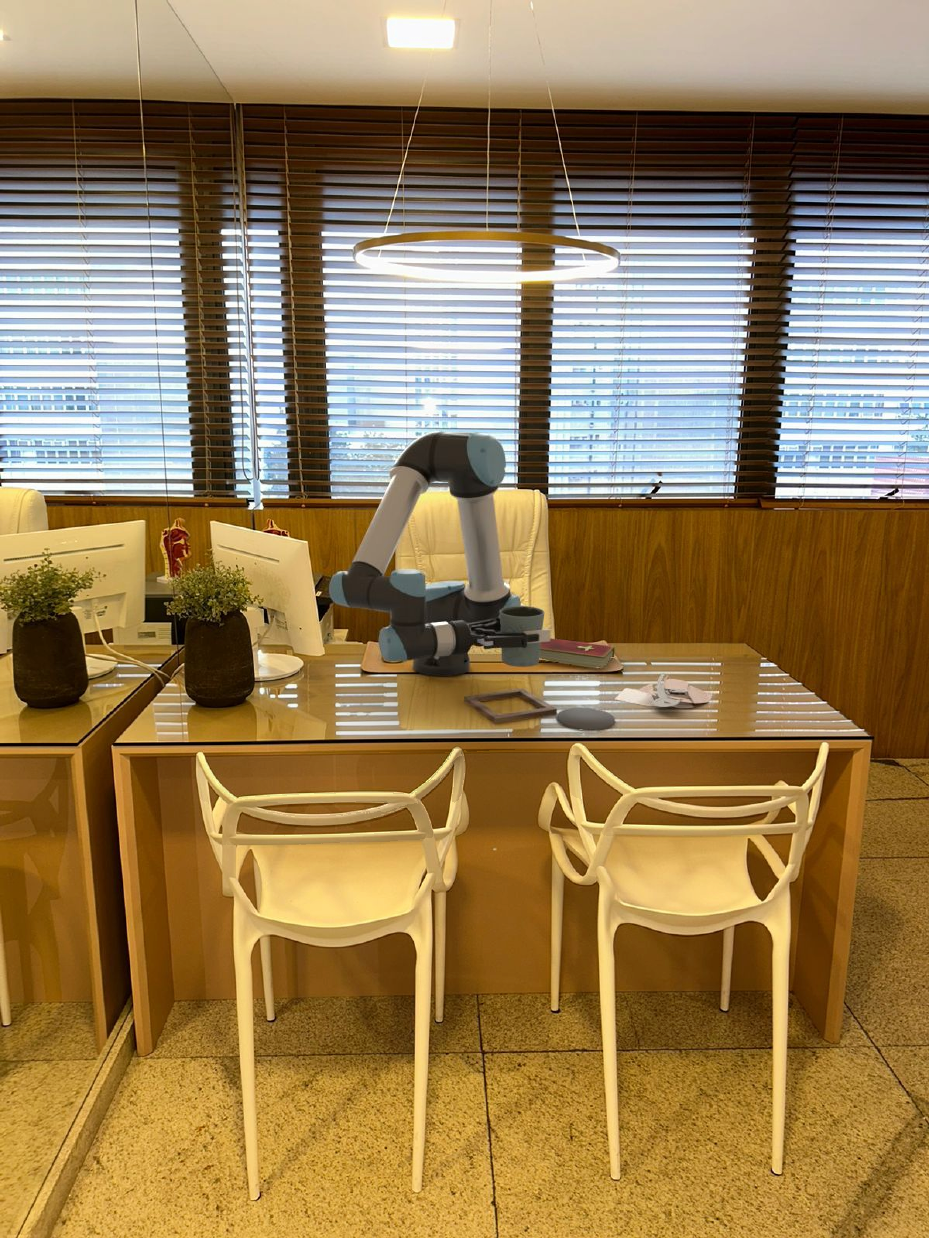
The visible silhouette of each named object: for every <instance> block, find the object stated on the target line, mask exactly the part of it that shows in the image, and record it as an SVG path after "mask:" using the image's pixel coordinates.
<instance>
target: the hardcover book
mask: <svg viewBox="0 0 929 1238" xmlns="http://www.w3.org/2000/svg"><path fill="white" fill-rule="evenodd" d="M615 649H616V648H615V646H612V645H606V644H605V645H604V644H597V643H589V642H582V641H574V640H573V641H572V640H566V639H558V638H551V637H550V641H548V642H541V646H540V652H539V653H540V657H539V658H542V659H546V660H549V661H555V662H559V663H558V664H562V663H563V665H569V664H572V665H571V666H578V667H584V668H585V667H586V668H591V667H599V668H603V667H604V666H605V664H607V665H608V663H609V662H610V661H611V660H612V659H611V657H614V658H615ZM610 659H611V660H610ZM609 660H610V661H609ZM608 661H609V662H608ZM555 662H554V663H555ZM607 662H608V663H607ZM605 667H606V666H605ZM605 667H604V668H605ZM604 668H603V669H604Z"/></svg>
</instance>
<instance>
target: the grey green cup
mask: <svg viewBox="0 0 929 1238" xmlns="http://www.w3.org/2000/svg"><path fill="white" fill-rule="evenodd" d="M499 613H500V624H501V632H508V633H523V631H533V630H542V629H543V626H544V619H545V611H544V610H543V609H542V608H538V607H534V606H527V605H521V606H511V607H505V608H502V609H501V610H500V612H499ZM540 646H541V642H539V643H529V644H527V647H526V648H523V647H519V648H500V649H501V661H502V663H503V664H505V665H507V666H510V667H516V668H517V667H518V668H519V667H520V668H523V667H524V668H527V667H534V666H537V665H538V664H539V662H540V660H539V657H540V653H539V652H540Z"/></svg>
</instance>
